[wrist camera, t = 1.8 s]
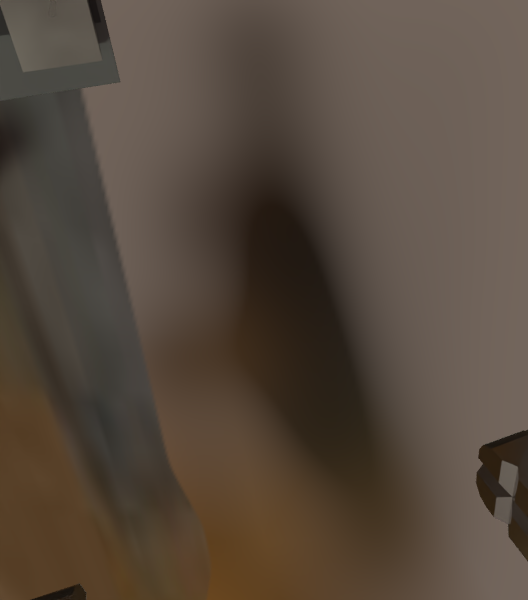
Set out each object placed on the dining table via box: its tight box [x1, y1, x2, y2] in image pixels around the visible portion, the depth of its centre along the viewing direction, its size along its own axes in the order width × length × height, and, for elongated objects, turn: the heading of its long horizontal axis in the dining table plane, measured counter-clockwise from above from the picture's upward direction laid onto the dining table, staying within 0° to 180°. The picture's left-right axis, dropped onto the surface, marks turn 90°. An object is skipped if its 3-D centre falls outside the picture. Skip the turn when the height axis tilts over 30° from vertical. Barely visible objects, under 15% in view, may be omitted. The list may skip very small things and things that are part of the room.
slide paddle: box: [0, 0, 102, 72], centre depth 20 cm, size 3×4×3 cm
